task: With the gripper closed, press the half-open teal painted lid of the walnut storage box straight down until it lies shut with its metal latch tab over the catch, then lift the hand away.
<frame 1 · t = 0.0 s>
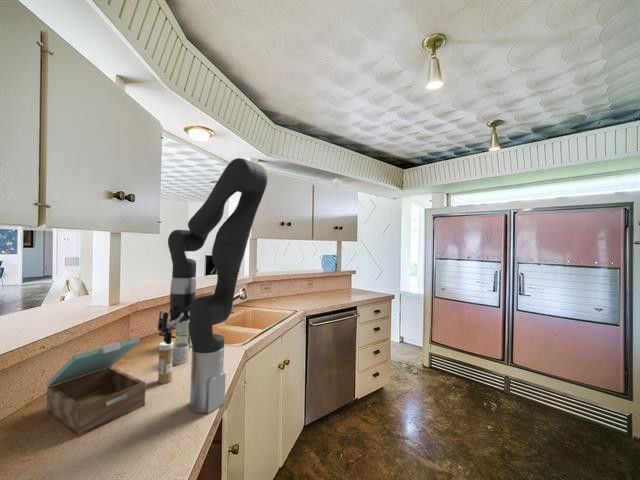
hand: (180, 339, 92), 17 cm above the worktop, tool pointing down, fingers open, 8 cm apart
mug: (175, 363, 113), on the worktop
sprinkles bottle: (164, 381, 99), on the worktop
lid: (96, 361, 83), point 13 cm above the worktop, hinge at 35.0°
storage box: (96, 408, 82), on the worktop
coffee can: (186, 345, 133), on the worktop
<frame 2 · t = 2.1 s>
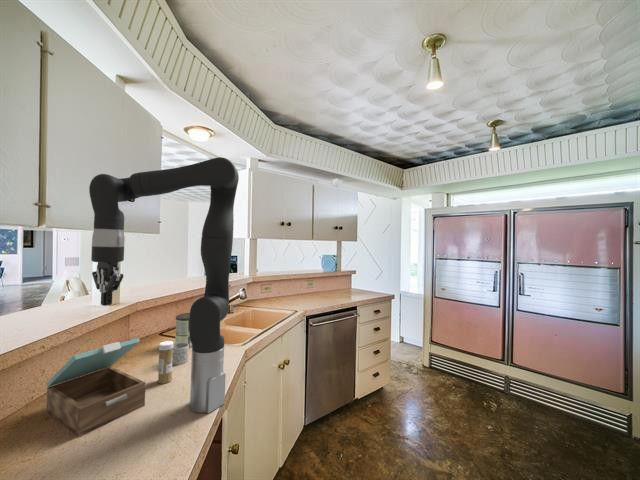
hand: (106, 305, 81), 31 cm above the worktop, tool pointing down, fingers closed
nothing on the worktop moved.
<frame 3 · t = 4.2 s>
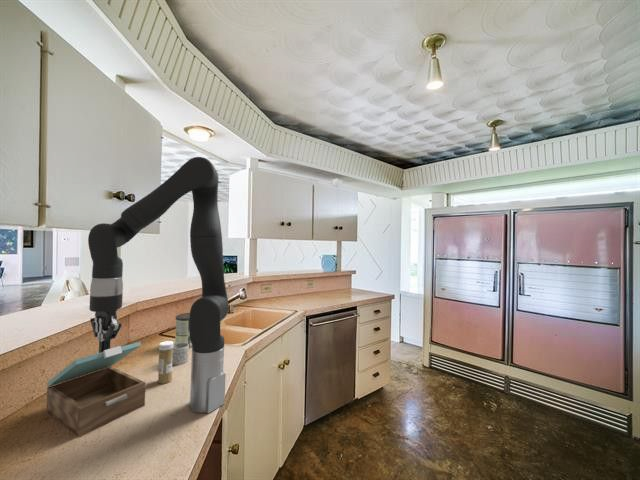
hand: (104, 353, 81), 17 cm above the worktop, tool pointing down, fingers closed
lid: (96, 363, 82), point 13 cm above the worktop, hinge at 31.4°, touching gripper
everything else where it was.
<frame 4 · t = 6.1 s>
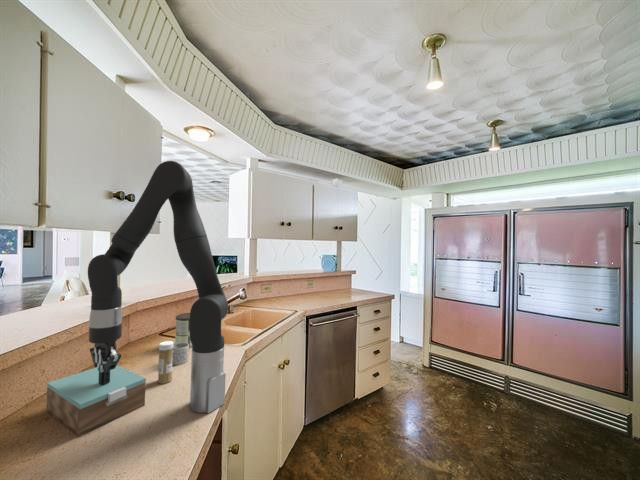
hand: (104, 383, 80), 8 cm above the worktop, tool pointing down, fingers closed
lid: (98, 384, 82), point 7 cm above the worktop, hinge at -0.3°, touching gripper, storage box
everything else where it was.
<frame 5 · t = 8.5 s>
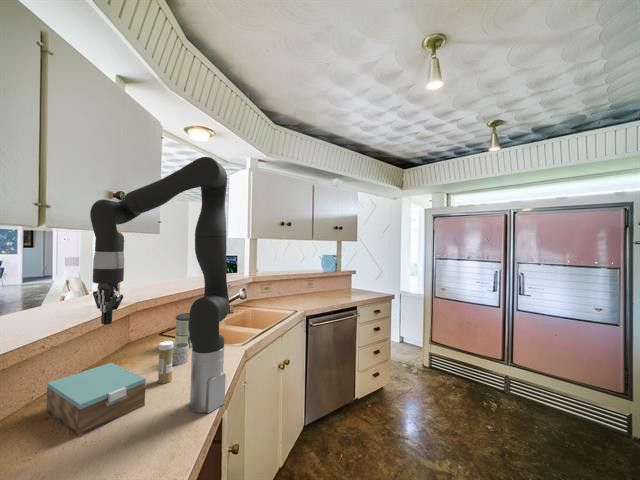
hand: (106, 323, 85), 24 cm above the worktop, tool pointing down, fingers closed
lid: (98, 384, 82), point 7 cm above the worktop, hinge at -0.3°, touching storage box
everything else where it was.
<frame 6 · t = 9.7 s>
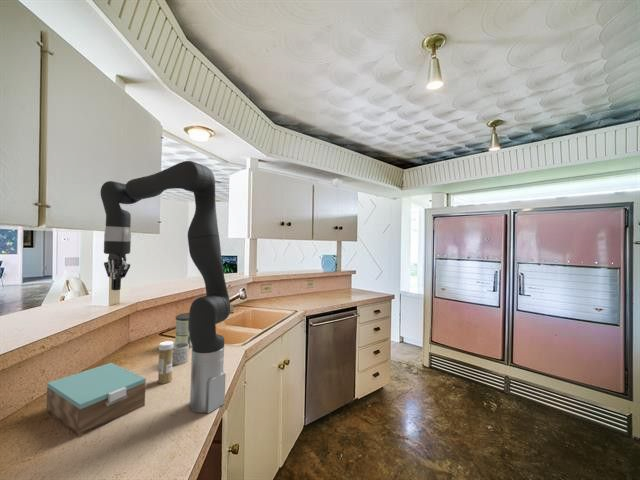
hand: (115, 289, 97), 32 cm above the worktop, tool pointing down, fingers closed
nothing on the worktop moved.
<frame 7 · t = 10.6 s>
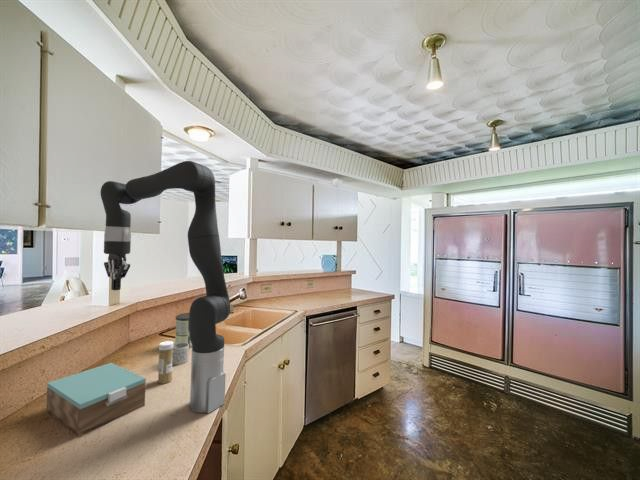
hand: (115, 289, 97), 32 cm above the worktop, tool pointing down, fingers closed
nothing on the worktop moved.
at the end: lid at +0° (first picture: +35°); sprinkles bottle moved 0.2 cm from its start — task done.
